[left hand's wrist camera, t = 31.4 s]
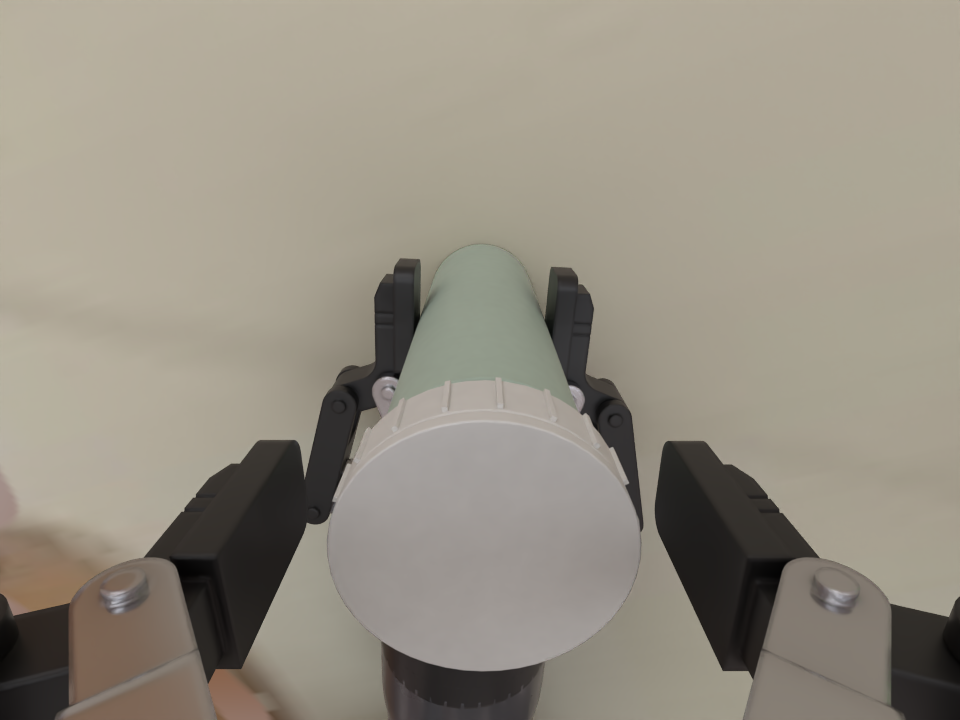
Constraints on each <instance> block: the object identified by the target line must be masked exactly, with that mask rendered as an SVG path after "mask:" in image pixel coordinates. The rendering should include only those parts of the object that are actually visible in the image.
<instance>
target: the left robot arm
mask: <svg viewBox="0 0 960 720" xmlns="http://www.w3.org/2000/svg"><path fill="white" fill-rule="evenodd" d="M307 516H308V502H307V494H306V487H305V479H304V472H303V465H302V457H301V450H300V446H299V444H298V442H297V441H296V440H259V441H258V442H257V443H256V444H255V445H254V446H253V448H252V449H251V450H250V451H249V453H248V454H247V455H246V457H245V458H244V459H243V461H242V462H241V463H240V464H230V465H229V466H227V467H226V468H224V469H223V470H221V471H219V472H218V473H216V474H215V475H213V476H212V477H210V478H209V479H208V480H207V482H206V483H205V484H204V485H203V487H202V488H201V489H200V490H199V491H198V493H197V494H196V498H193V499H192V500H191V501H190V502H189V503H188V505H187V506H186V507H185V511H184V512H181V513H180V514H179V516H178V517H177V518H176V519H175V520H174V522H173V523H172V524H171V525H170V526H169V528H168V529H167V530H166V531H165V532H164V534H163V535H162V536H161V537H160V539H159V540H158V541H157V542H156V543H155V545H154V546H153V547H152V548H151V549H150V551H149V552H148V553H147V554H146V555H145V557H144V558H139V559H134V560H130V561H127V562H123V563H121V564H118V565H115V566H113V567H111V568H109V569H107V570H105V571H103V572H101V573H100V574H98V575H96V576H95V577H93V578H92V579H91V580H89V581H88V582H87V583H86V584H85V585H83V586H82V587H81V588H80V589H79V591H78V592H77V593H76V594H75V596H74V597H73V599H72V601H71V603H68V604H64V605H60V606H55V607H51V608H46V609H42V610H37V611H33V612H29V613H24V614H20V615H15V616H13V614H12V611H11V609H10V606H9V604H8V601H7V599H6V598H5V597H4V596H3V595H2V594H0V720H217V717H216V713H215V709H214V706H213V702H212V698H211V694H210V691H209V687H208V683H209V681H210V679H211V677H212V675H213V673H214V671H215V669H241V668H242V666H243V664H244V662H245V659H246V657H247V655H248V653H249V651H250V649H251V646H252V644H253V642H254V640H255V638H256V636H257V633H258V631H259V629H260V627H261V625H262V623H263V620H264V618H265V616H266V614H267V612H268V610H269V607H270V605H271V603H272V601H273V599H274V597H275V594H276V592H277V590H278V588H279V586H280V584H281V581H282V579H283V577H284V575H285V573H286V571H287V568H288V566H289V564H290V562H291V560H292V558H293V555H294V553H295V551H296V549H297V547H298V545H299V542H300V540H301V538H302V536H303V534H304V531H305V528H306V523H307ZM655 519H656V525H657V529H658V533H659V535H660V537H661V539H662V542H663V544H664V546H665V548H666V550H667V552H668V554H669V557H670V559H671V561H672V563H673V565H674V567H675V569H676V572H677V574H678V576H679V578H680V580H681V582H682V584H683V587H684V589H685V591H686V593H687V595H688V597H689V599H690V602H691V604H692V606H693V608H694V610H695V612H696V614H697V617H698V619H699V621H700V623H701V625H702V627H703V629H704V631H705V634H706V636H707V638H708V640H709V642H710V644H711V646H712V649H713V651H714V653H715V655H716V657H717V659H718V661H719V664H720V666H721V668H722V670H723V671H749V673H750V675H751V677H752V678H753V683H752V687H751V691H750V694H749V698H748V702H747V706H746V709H745V713H744V717H743V720H960V597H959V598H958V599H957V600H956V601H955V604H954V606H953V609H952V611H951V614H950V616H949V617H946V616H941V615H937V614H932V613H928V612H924V611H919V610H915V609H910V608H906V607H901V606H897V605H893V604H890V603H889V601H888V599H887V597H886V596H885V594H884V593H883V592H882V591H881V589H880V588H879V587H878V586H877V585H875V584H874V583H873V582H872V581H871V580H869V579H868V578H867V577H865V576H864V575H862V574H860V573H859V572H857V571H855V570H853V569H851V568H849V567H847V566H845V565H842V564H839V563H837V562H833V561H830V560H826V559H821V558H819V556H818V555H817V554H816V553H815V552H814V550H813V549H812V548H811V547H810V546H809V544H808V543H807V542H806V541H805V540H804V538H803V537H802V536H801V535H800V534H799V532H798V531H797V530H796V529H795V528H794V526H793V525H792V524H791V523H790V522H789V520H788V519H787V518H786V517H785V516H784V515H783V513H780V512H779V509H778V507H777V506H776V505H775V504H774V503H773V501H772V500H771V499H768V495H767V494H766V493H765V492H764V491H763V489H762V488H761V487H760V486H759V485H758V483H757V482H756V481H755V480H754V479H753V478H752V477H750V476H749V475H747V474H745V473H744V472H742V471H741V470H739V469H738V468H736V467H735V466H733V465H723V464H722V462H721V461H720V460H719V458H718V457H717V456H716V455H715V453H714V452H713V451H712V449H711V448H710V447H709V446H708V444H707V443H706V442H704V441H667V442H666V443H665V444H664V447H663V451H662V457H661V464H660V471H659V479H658V486H657V493H656V500H655Z"/></svg>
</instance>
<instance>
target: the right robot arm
mask: <svg viewBox="0 0 960 720" xmlns="http://www.w3.org/2000/svg"><path fill="white" fill-rule="evenodd" d="M420 278H421V264H420V259H403V258H400V260H399V261H398V262H397V264H396V265H395V268H394V274H386V276H385V277H384V278H383V280H382V281H381V282H380V284H379V287H378V289H377V292H376V294H375V297H374V301H375V355H376V361H375V362H374V363H372V364H370V365H366V366H363V367H358V366H347V367H345V368H344V369H342V370H341V372H340V373H339V375H338V377H337V379H336V382H335V384H334V385H333V387H332V388H331V389H330V390H329V391H328V392H327V394H326V396H325V397H324V399H323V402H322V407H321V411H320V415H319V420H318V424H317V429H316V433H315V437H314V442H313V446H312V450H311V455H310V459H309V464H308V468H307V472H306V477H305V487H306V494H307V502H308V516H307V523H310V524H321V523H323V522H325V521H326V520H327V519H328V517H329V514H330V513H333V510H334V507H335V504H336V502H333V501H332V500H333V497H334V495H335V492H336V490H337V487H338V485H339V483H340V480H341V478H342V475H343V473H344V471H345V468H346V466H347V464H352V462H353V459H349V457H350V453H351V449H352V445H353V441H354V438H355V434H356V430H357V426H358V422H359V418H360V414H361V411H364V410H367V409H371V408H375V407H377V408H378V410H379V413H380V415H381V418H383V417H384V416H385V415H386V414H387V413H388V410H389V407H390V404H391V401H392V398H393V395H394V392H395V389H396V386H397V384H398V381H399V378H400V375H401V372H402V369H403V366H404V363H405V360H406V357H407V355H408V352H409V349H410V346H411V343H412V340H413V337H414V334H415V331H416V328H417V325H418V323H419V320H420ZM593 312H594V307H593V304H592V300H591V296H590V294H589V292H588V291H587V290H586V288H585V287H584V286H583V285H578V277H577V275H576V274H575V272H574V271H573V270H572V268H563V267H551V270H550V276H549V286H548V296H547V305H546V315H545V323H546V325H547V328H548V331H549V334H550V336H551V339H552V342H553V345H554V347H555V350H556V353H557V355H558V358H559V361H560V364H561V366H562V369H563V372H564V375H565V377H566V380H567V383H568V385H569V388H570V391H571V394H572V396H573V399H574V402H575V405H576V407H577V410H578V412H579V413H580V414H581V415H584V414H585V413H586V414H587V415H589V417H590V419H591V422H592V424H593V427H594V428H595V429H596V430H597V431H598V432H599V433H600V435H601V436H602V438H603V440H604V441H605V443H606V444H607V446H608V447H609V448H611V447H613V448H614V450H615V452H616V454H617V457H618V459H619V461H620V463H621V466H622V468H623V470H624V473H625V475H626V477H627V479H628V482H629V484H627V485H625V487H626V489H627V491H628V494H629V496H630V499H631V501H632V503H633V505H634V508H635V510H636V514H637V516H638V519H639V525H640V532H641V531H642V529H643V515H642V506H641V497H640V488H639V479H638V470H637V461H636V451H635V442H634V433H633V424H632V416H631V413H630V411H629V409H628V407H627V406H626V404H625V402H624V400H623V399H622V397H621V395H620V394H619V392H618V390H617V388H616V387H615V385H614V383H613V382H612V381H610V380H608V379H603V378H602V379H596V378H593V377H591V376H589V375H587V374H586V373H585V371H586V364H587V356H588V349H589V341H590V334H591V327H592V326H591V324H592V319H593ZM381 644H382V682H383V691H384V697H385V703H386V707H387V711H388V720H532V719H533V716H534V713H535V710H536V707H537V704H538V701H539V696H540V691H541V685H542V679H543V672H544V664H545V661H544V662H541V663H538V664H535V665H530V666H526V667H522V668H516V669H509V670H501V671H467V670H458V669H452V668H445V667H441V666H437V665H433V664H429V663H426V662H423V661H421V660H418V659H415V658H412V657H410V656H408V655H406V654H404V653H402V652H399V651H397V650H395V649H394V648H392V647H390V646H389V645H387V644H386V643H384V642H382V641H381Z"/></svg>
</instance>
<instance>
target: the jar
mask: <svg viewBox="0 0 960 720" xmlns="http://www.w3.org/2000/svg"><path fill="white" fill-rule="evenodd" d="M496 377H499V378H501V379H502V381H505V382H510V383H515V384H520V385H525V386H528V387H531V388H534V389H537V390H540V391H544V389H548V390H550V393H551V395H552V396H554V397H556V398H558V399H560V400H562V401H563V402H565V403H566V404H568V405H569V406H571V407H572V408H574V409H575V410H577V407H576V405H575V402H574V399H573V396H572V394H571V391H570V388H569V385H568V383H567V380H566V377H565V375H564V372H563V369H562V366H561V364H560V361H559V358H558V355H557V353H556V350H555V347H554V345H553V342H552V339H551V336H550V334H549V331H548V328H547V325H546V323H545V320H544V317H543V315H542V312H541V309H540V306H539V304H538V301H537V298H536V295H535V293H534V290H533V287H532V285H531V282H530V279H529V276H528V274H527V272H526V270H525V268H524V266H523V265H522V264H521V262H520V261H519V260H518V259H517V258H516V257H515V256H513V255H512V254H511V253H509V252H508V251H506V250H504V249H502V248H500V247H497V246H493V245H487V244H476V245H470V246H466V247H463V248H461V249H459V250H457V251H455V252H454V253H452V254H451V255H450V256H448V257H447V258H446V259H445V260H444V261H443V262H442V264H441V265H440V266H439V268H438V270H437V272H436V274H435V276H434V279H433V282H432V285H431V288H430V291H429V293H428V296H427V299H426V302H425V305H424V308H423V311H422V314H421V317H420V320H419V323H418V325H417V328H416V331H415V334H414V337H413V340H412V343H411V346H410V349H409V352H408V355H407V357H406V360H405V363H404V366H403V369H402V372H401V375H400V378H399V381H398V384H397V386H396V389H395V392H394V395H393V398H392V401H391V404H390V407H389V410H388V413H389V412H390V411H391V410H393V409H394V408H395V407H397V406H398V403H399V400H401V399H402V398H405V399H406V400H408V399H410V398H411V397H414V396H416V395H418V394H421V393H423V392H425V391H427V390H430V389H433V388H437V387H440V386H443V385H444V384H445V381H449V380H450V381H451V384H452V383H458V382H464V381H478V380H491V381H495V378H496ZM577 411H578V410H577ZM388 413H387V414H388Z"/></svg>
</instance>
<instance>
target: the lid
mask: <svg viewBox="0 0 960 720" xmlns="http://www.w3.org/2000/svg"><path fill="white" fill-rule="evenodd" d="M627 484H629V482H628V479H627V477H626V475H625V473H624V470H623V468H622V466H621V463H620V461H619V459H618V457H617V454H616V452H615V450H614V448H613V447H611V448H609V447H608V446H607V444H606V443H605V441H604V440H603V438H602V436H601V435H600V433H599V432H598V431H597V430H596V429H595V428H594V427H593V424H592V422H591V419H590V417H589V415H587V414H586V413H585V414H584V415H581V414H580V413H579V412H578V411H577V410H575V409H574V408H572V407H571V406H569V405H568V404H566V403H565V402H563V401H562V400H560V399H558V398H556V397H554V396H552V395H551V393H550V390H548V389H544V391H540V390H537V389H534V388H531V387H528V386H525V385H520V384H515V383H510V382H505V381H502V379H501V378H499V377H496V378H495V381H491V380H478V381H464V382H458V383H452V384H451V381H450V380H449V381H445V384H444V385H443V386H440V387H437V388H433V389H430V390H427V391H425V392H423V393H421V394H418V395H416V396H414V397H411V398H410V399H408V400H406V399H405V398H402V399H401V400H399V403H398V406H397V407H395V408H394V409H393V410H391V411H390V412H389V413H388V414H386V415H385V416H384V417H383V418H382V419H381V420H380V421H379V422H378V423H377V424H376V425H375V426H374V427H373V428H372V429H371V428H370V427H368V428H367V429H366V430H365V433H364V435H363V438H362V440H361V443H360V445H359V448H358V450H357V453H356V455H355V457H354V459H353V462H352V464H347V466H346V468H345V471H344V473H343V475H342V478H341V480H340V483H339V485H338V487H337V490H336V492H335V495H334V497H333V500H332V501H333V502H336V504H335V507H334V510H333V513H332V516H331V519H330V523H329V529H328V537H327V554H328V561H329V566H330V571H331V575H332V578H333V581H334V583H335V586H336V589H337V591H338V593H339V594H340V596H341V598H342V600H343V602H344V604H345V605H346V606H347V608H348V609H349V610H350V612H351V613H352V614H353V616H354V617H355V618H356V619H357V620H358V621H359V622H360V623H361V624H362V625H363V626H364V627H365V628H366V629H367V630H368V631H369V632H371V633H372V634H373V635H374V636H376V637H377V638H378V639H379V640H381V641H382V642H384V643H386V644H387V645H389V646H390V647H392V648H394V649H395V650H397V651H399V652H402V653H404V654H406V655H408V656H410V657H412V658H415V659H418V660H421V661H423V662H426V663H429V664H433V665H437V666H441V667H445V668H452V669H458V670H467V671H501V670H509V669H516V668H522V667H526V666H530V665H535V664H538V663H541V662H544V661H547V660H550V659H553V658H555V657H557V656H560V655H562V654H564V653H566V652H568V651H570V650H572V649H574V648H575V647H577V646H579V645H581V644H582V643H584V642H585V641H587V640H588V639H589V638H591V637H592V636H593V635H595V634H596V633H597V632H599V631H600V630H601V629H602V628H603V627H604V626H605V625H606V624H607V623H608V622H609V621H610V620H611V619H612V618H613V616H614V615H615V614H616V613H617V611H618V610H619V609H620V608H621V606H622V605H623V603H624V601H625V600H626V598H627V596H628V595H629V593H630V591H631V588H632V586H633V584H634V581H635V579H636V576H637V572H638V567H639V563H640V556H641V534H640V525H639V519H638V516H637V514H636V510H635V508H634V505H633V503H632V501H631V499H630V496H629V494H628V491H627V489H626V487H625V485H627Z"/></svg>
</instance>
